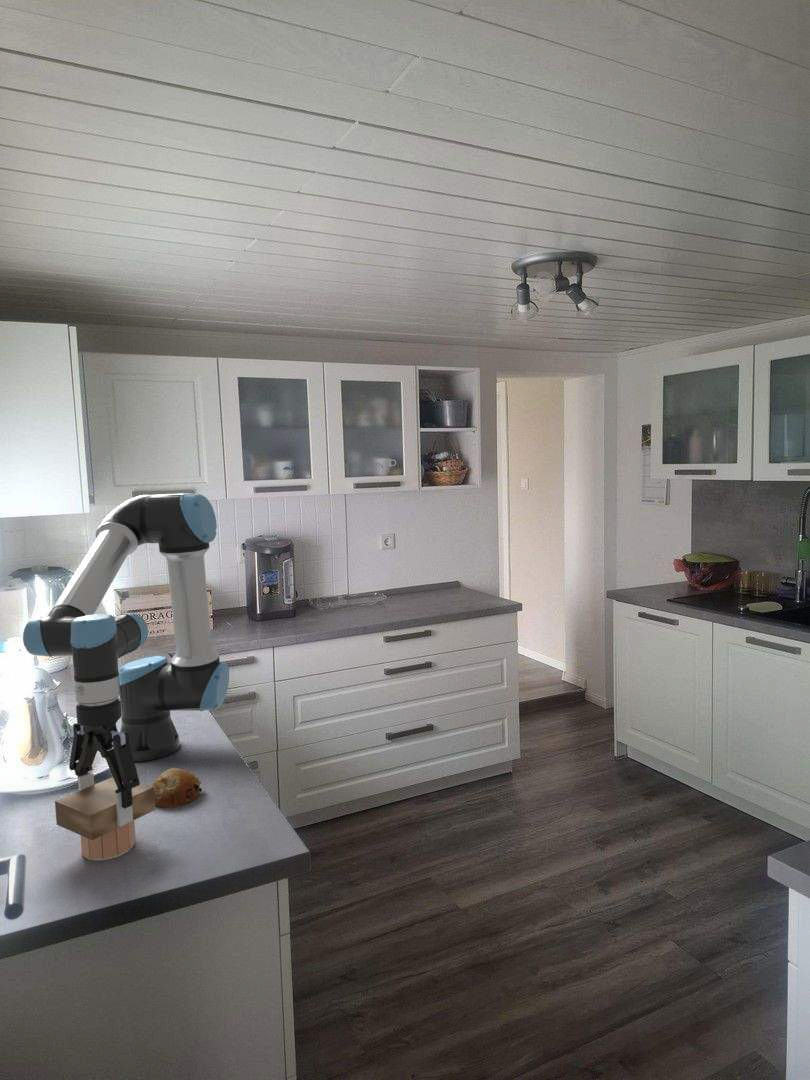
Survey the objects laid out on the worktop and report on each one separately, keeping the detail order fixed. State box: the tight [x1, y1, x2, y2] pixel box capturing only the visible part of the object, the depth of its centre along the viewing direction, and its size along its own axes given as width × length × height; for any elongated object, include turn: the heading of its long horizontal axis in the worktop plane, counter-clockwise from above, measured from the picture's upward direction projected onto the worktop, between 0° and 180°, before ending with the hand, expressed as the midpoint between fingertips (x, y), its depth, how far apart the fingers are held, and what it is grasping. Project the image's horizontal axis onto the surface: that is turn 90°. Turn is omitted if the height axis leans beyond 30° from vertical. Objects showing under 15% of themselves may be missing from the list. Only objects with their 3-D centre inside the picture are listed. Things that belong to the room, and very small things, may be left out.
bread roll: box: [151, 767, 203, 808], centre depth 153 cm, size 10×10×8 cm
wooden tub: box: [80, 820, 137, 862], centre depth 133 cm, size 9×9×6 cm
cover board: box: [54, 776, 156, 840], centre depth 132 cm, size 13×11×4 cm
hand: (106, 815), depth 132 cm, fingers closed on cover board, 11 cm apart
